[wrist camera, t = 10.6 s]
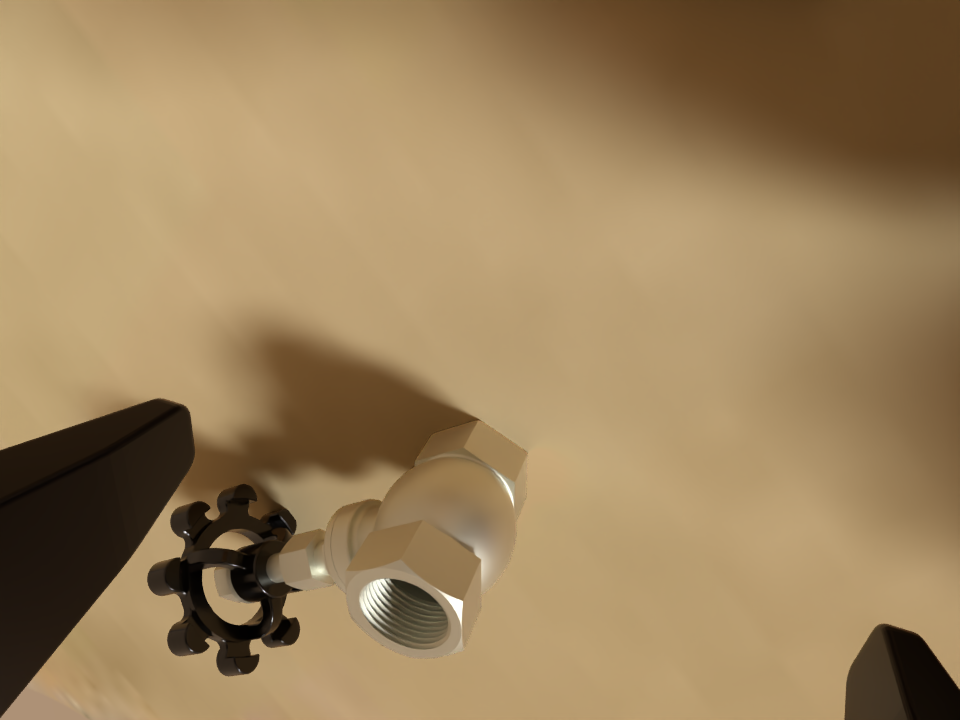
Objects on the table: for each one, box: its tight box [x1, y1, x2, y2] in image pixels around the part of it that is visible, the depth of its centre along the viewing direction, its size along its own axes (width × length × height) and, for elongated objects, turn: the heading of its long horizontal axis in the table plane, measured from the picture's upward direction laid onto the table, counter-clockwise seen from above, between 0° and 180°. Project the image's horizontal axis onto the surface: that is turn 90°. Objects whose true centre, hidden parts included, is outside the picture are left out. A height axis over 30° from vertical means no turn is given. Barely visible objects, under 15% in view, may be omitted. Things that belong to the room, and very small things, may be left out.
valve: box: [147, 420, 528, 676], centre depth 25 cm, size 7×7×12 cm
